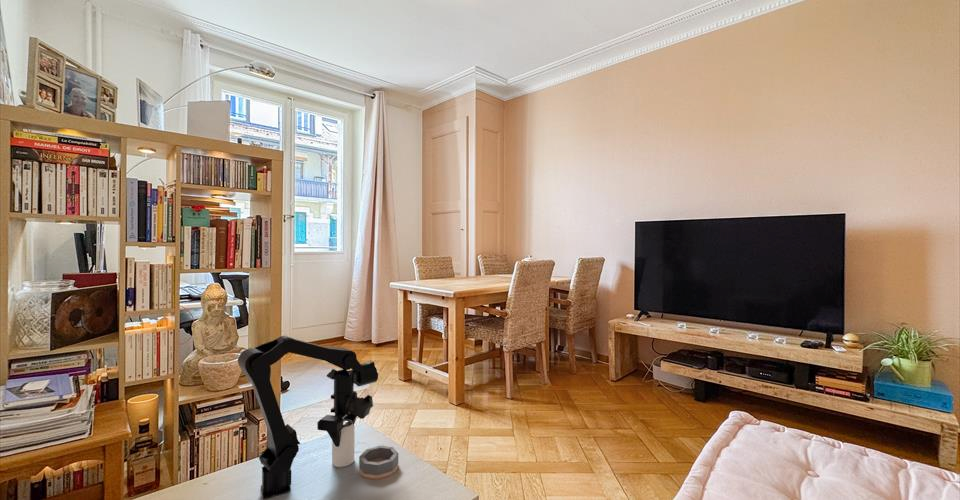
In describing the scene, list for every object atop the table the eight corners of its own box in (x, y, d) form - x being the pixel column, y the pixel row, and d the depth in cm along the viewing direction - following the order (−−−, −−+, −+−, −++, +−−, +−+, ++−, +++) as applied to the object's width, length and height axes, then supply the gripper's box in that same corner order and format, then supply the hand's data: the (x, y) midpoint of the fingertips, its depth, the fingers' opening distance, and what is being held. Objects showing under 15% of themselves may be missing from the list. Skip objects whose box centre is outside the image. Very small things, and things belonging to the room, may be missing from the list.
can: (357, 457, 125) (358, 419, 125) (349, 468, 119) (349, 428, 118) (337, 456, 126) (338, 418, 125) (328, 467, 119) (328, 427, 119)
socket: (366, 483, 111) (366, 469, 111) (354, 465, 121) (354, 451, 121) (404, 471, 117) (404, 457, 117) (390, 454, 127) (390, 442, 127)
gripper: (352, 404, 111) (352, 460, 111) (381, 381, 129) (381, 430, 130) (316, 400, 113) (315, 455, 113) (350, 379, 132) (349, 426, 132)
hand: (343, 441), depth 122 cm, fingers open, 6 cm apart
